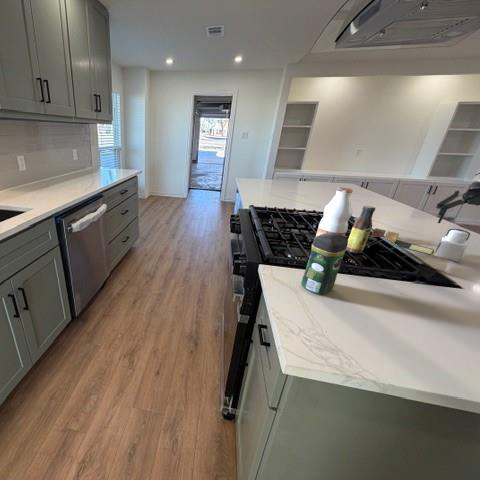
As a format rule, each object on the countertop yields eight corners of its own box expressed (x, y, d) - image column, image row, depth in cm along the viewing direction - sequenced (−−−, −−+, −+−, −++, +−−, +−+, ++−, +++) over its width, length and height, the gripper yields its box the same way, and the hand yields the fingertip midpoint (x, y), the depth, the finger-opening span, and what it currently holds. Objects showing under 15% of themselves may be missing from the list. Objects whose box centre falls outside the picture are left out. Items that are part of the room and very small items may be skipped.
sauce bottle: (361, 255, 106) (378, 210, 98) (343, 251, 110) (359, 206, 102) (363, 250, 110) (380, 206, 102) (346, 246, 114) (361, 203, 106)
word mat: (433, 249, 113) (433, 248, 113) (429, 255, 107) (430, 254, 107) (373, 234, 129) (373, 233, 129) (367, 239, 123) (367, 238, 123)
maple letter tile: (396, 241, 120) (399, 233, 119) (394, 243, 118) (397, 235, 116) (385, 238, 123) (388, 231, 122) (383, 240, 121) (386, 232, 119)
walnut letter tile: (382, 238, 124) (386, 230, 122) (380, 240, 121) (383, 232, 120) (373, 235, 127) (375, 228, 125) (370, 237, 124) (373, 229, 123)
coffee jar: (312, 277, 88) (327, 228, 81) (336, 289, 82) (355, 236, 75) (295, 285, 84) (310, 233, 76) (319, 298, 78) (338, 243, 70)
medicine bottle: (434, 251, 112) (447, 226, 107) (458, 257, 107) (473, 230, 102) (433, 256, 107) (447, 229, 103) (458, 262, 103) (474, 235, 98)
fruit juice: (306, 254, 106) (325, 187, 95) (317, 248, 111) (336, 185, 100) (330, 263, 99) (354, 192, 88) (341, 257, 104) (364, 189, 93)
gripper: (443, 176, 116) (423, 213, 113) (535, 186, 98) (513, 230, 95) (440, 186, 121) (420, 222, 118) (526, 197, 103) (505, 239, 100)
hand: (462, 226), depth 107 cm, fingers open, 13 cm apart
